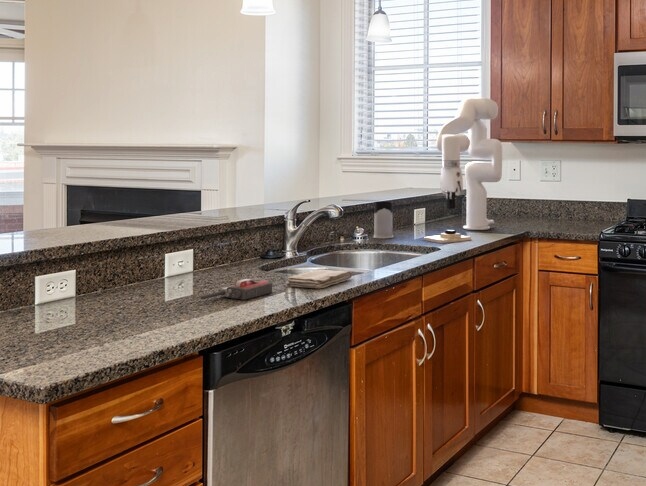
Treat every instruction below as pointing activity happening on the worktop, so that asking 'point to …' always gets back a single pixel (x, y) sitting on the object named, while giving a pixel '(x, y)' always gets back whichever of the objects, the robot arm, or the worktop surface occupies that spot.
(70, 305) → the worktop surface
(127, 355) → the worktop surface
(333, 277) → the washcloth
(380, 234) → the glass holder
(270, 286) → the walkie-talkie
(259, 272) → the worktop surface
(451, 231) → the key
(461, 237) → the beige flat slab
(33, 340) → the worktop surface
